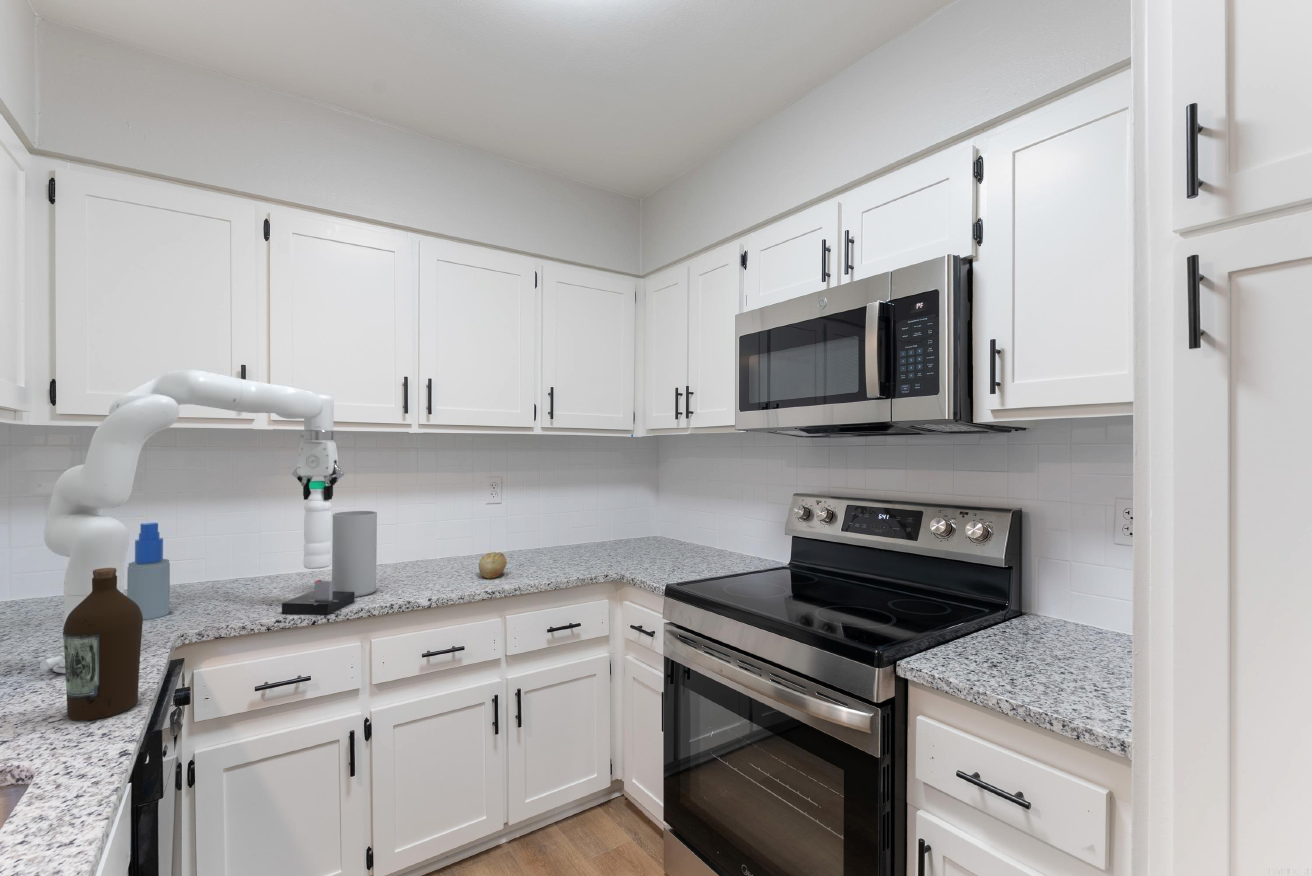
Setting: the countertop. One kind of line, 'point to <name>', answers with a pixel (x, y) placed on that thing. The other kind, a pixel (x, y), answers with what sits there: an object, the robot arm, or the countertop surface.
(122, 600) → the olive oil
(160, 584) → the spray bottle
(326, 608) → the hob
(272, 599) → the countertop surface
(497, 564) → the bread roll
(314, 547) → the water bottle
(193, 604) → the countertop surface
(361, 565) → the cylinder vase
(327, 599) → the knob
